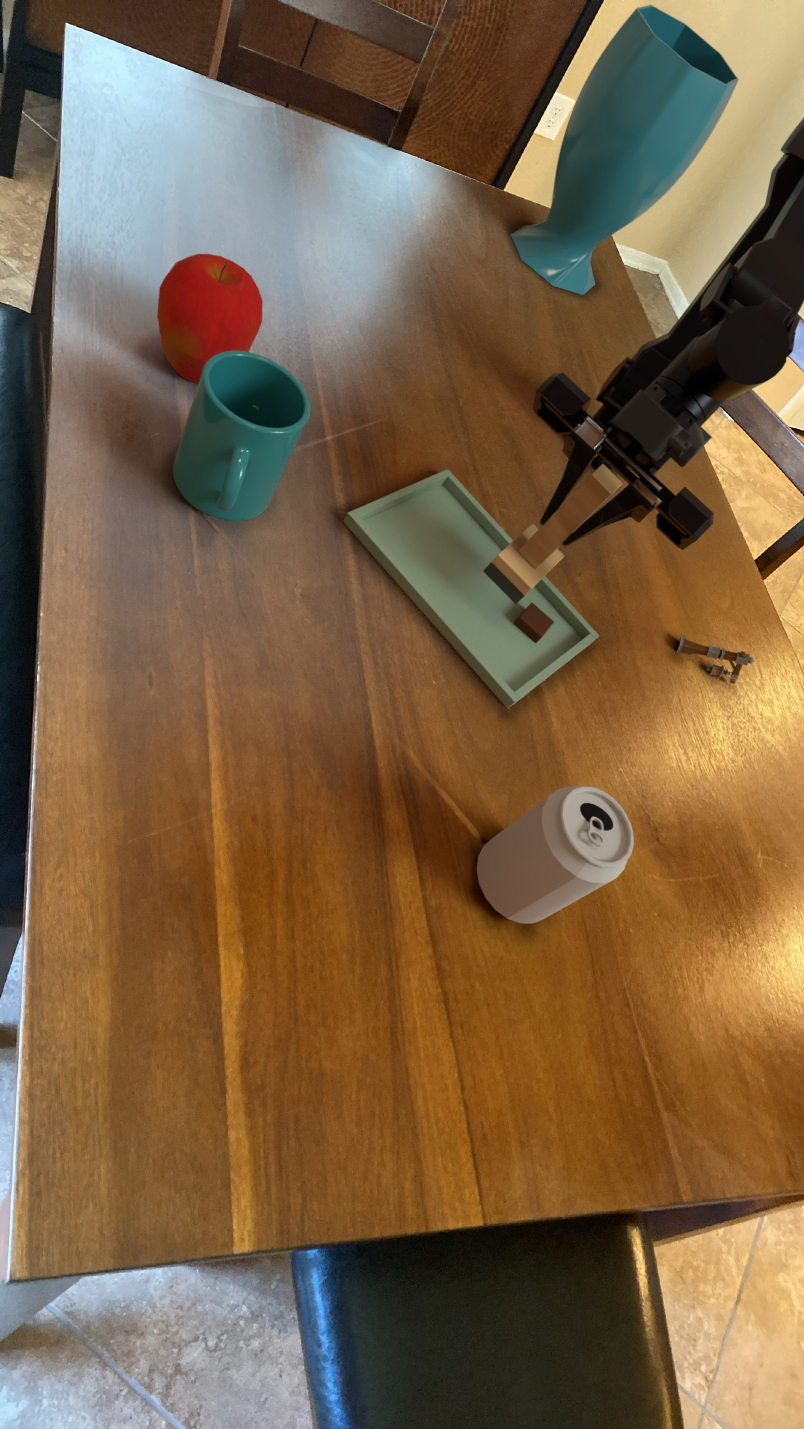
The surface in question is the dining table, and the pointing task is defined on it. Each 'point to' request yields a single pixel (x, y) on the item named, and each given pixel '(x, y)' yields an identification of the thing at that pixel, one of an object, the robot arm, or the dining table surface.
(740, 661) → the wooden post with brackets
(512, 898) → the can
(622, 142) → the vase
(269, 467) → the cup
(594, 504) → the brush
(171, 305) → the apple
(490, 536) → the tray
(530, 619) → the crumb
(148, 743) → the dining table surface
